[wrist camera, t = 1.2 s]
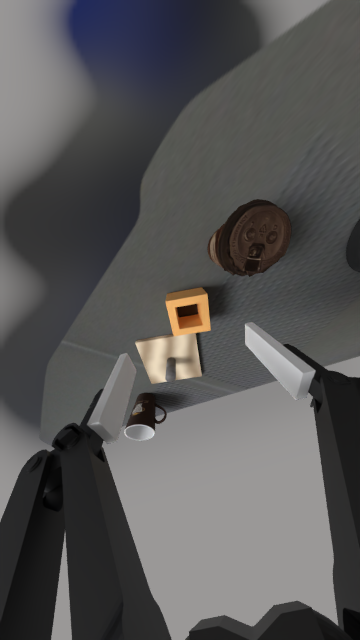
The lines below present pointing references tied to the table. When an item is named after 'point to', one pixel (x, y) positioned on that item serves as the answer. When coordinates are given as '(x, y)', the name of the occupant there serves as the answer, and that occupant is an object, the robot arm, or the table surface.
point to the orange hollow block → (191, 322)
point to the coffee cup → (251, 239)
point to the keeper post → (170, 357)
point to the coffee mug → (143, 418)
